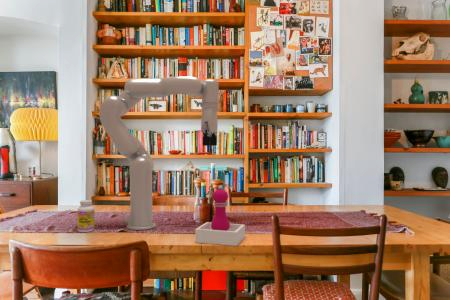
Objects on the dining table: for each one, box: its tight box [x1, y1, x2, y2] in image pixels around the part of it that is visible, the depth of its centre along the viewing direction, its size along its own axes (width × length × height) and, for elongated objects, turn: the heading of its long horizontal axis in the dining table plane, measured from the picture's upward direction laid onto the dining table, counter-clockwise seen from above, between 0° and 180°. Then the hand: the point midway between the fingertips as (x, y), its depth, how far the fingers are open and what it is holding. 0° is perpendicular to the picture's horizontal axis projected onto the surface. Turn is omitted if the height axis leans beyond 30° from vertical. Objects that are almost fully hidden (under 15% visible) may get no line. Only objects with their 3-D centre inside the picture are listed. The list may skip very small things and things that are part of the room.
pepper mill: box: [211, 184, 231, 231], centre depth 140 cm, size 7×7×20 cm
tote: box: [194, 221, 246, 247], centre depth 140 cm, size 16×13×5 cm
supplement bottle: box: [77, 199, 95, 233], centre depth 153 cm, size 7×7×13 cm
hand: (210, 145), depth 163 cm, fingers open, 9 cm apart
